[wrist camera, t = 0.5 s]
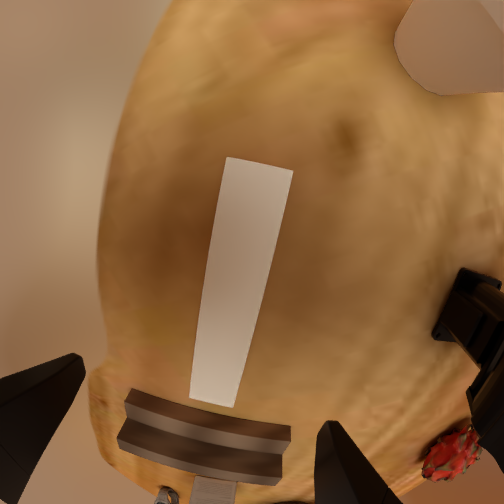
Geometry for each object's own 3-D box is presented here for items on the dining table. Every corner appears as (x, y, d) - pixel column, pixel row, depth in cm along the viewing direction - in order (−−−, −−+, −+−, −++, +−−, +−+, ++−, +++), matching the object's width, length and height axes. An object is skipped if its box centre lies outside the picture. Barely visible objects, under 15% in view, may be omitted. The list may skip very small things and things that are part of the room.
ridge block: (290, 426, 22) (291, 466, 18) (269, 460, 25) (267, 493, 20) (131, 388, 22) (112, 423, 18) (137, 428, 25) (123, 459, 20)
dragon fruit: (473, 401, 23) (418, 444, 29) (461, 428, 19) (395, 470, 24) (498, 435, 18) (441, 474, 23) (490, 466, 13) (421, 504, 18)
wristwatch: (173, 486, 30) (167, 508, 26) (185, 498, 32) (180, 518, 27) (155, 483, 31) (148, 504, 26) (168, 495, 32) (162, 514, 28)
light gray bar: (287, 170, 16) (293, 170, 12) (238, 372, 21) (232, 407, 17) (237, 159, 16) (226, 156, 12) (200, 364, 21) (189, 397, 17)
